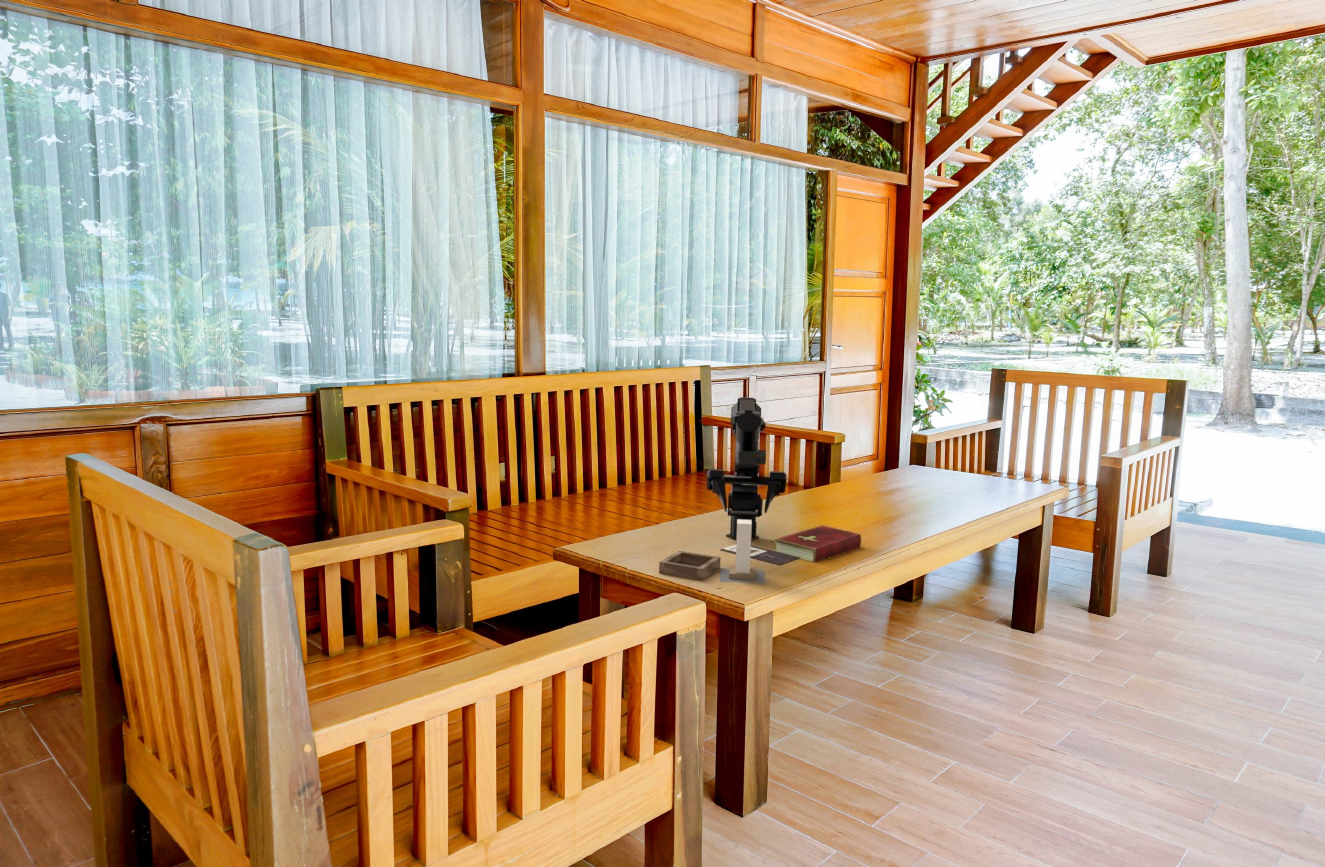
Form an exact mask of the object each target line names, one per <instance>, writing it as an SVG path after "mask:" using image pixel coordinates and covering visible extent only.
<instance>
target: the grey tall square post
mask: <svg viewBox="0 0 1325 867" xmlns="http://www.w3.org/2000/svg"><path fill="white" fill-rule="evenodd" d="M751 528H752V520H742V519H737V540H736V544H735V545H736V554H735V565H729V579H740V580H756V570H757V569H756V568H757V567H756V566H751V558H750V554H751V545H752V540H751Z"/></svg>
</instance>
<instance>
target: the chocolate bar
mask: <svg viewBox="0 0 1325 867" xmlns="http://www.w3.org/2000/svg"><path fill="white" fill-rule="evenodd" d="M719 551H721V552H726V553H729V554H734V555H736V544H734V545H729V546H727V547H724V548H721V549H719ZM750 559H753V560H756V561H760V562H763V563H768V564H772V565H775V566H782V565H786V564H788V563H791V562H794V561H796V560H798V559H801V558H800V557H796V556H792V555H788V554H784V553H780V552H776V550H773V549H768V548H764V547H759V546H755V545H752V544H751V554H750Z"/></svg>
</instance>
